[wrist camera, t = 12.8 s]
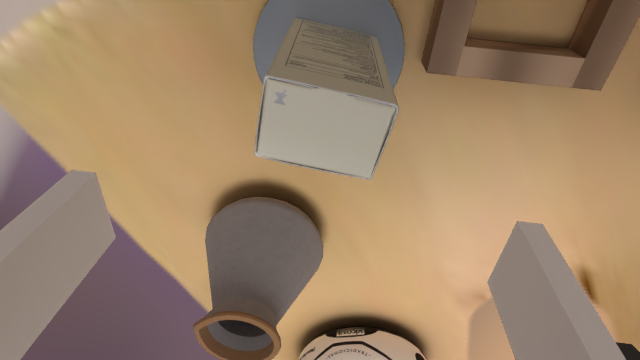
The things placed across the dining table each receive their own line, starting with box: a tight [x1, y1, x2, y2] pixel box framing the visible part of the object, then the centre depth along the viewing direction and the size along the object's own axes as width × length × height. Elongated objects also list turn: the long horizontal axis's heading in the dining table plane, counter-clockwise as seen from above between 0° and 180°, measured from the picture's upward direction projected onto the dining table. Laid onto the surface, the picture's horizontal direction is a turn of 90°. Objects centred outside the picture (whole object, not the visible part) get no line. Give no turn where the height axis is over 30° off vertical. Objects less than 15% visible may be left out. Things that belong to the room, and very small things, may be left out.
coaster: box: [253, 0, 404, 88], centre depth 28 cm, size 11×11×1 cm
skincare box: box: [255, 18, 399, 180], centre depth 22 cm, size 6×4×12 cm
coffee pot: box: [193, 197, 323, 360], centre depth 35 cm, size 21×12×15 cm, turn 157°
